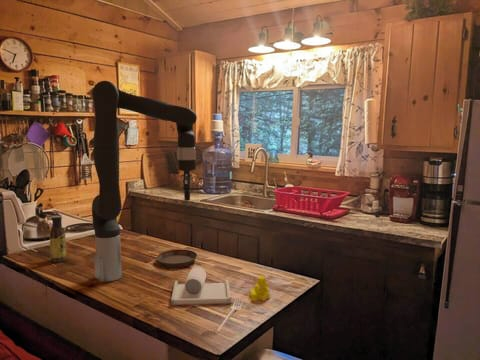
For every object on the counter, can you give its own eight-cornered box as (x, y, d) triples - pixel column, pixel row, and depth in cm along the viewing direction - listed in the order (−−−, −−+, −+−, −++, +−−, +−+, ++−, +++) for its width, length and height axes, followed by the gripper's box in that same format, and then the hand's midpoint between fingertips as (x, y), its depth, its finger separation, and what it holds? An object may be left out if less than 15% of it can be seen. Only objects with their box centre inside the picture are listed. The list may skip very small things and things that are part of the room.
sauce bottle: (64, 262, 168) (61, 218, 165) (48, 263, 167) (46, 218, 164) (68, 257, 174) (66, 214, 171) (53, 258, 173) (51, 215, 170)
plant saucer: (167, 272, 158) (167, 265, 157) (150, 260, 172) (150, 253, 171) (204, 264, 168) (204, 257, 167) (185, 253, 182) (185, 246, 182)
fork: (212, 333, 113) (212, 327, 112) (235, 302, 131) (235, 297, 131) (222, 335, 112) (222, 329, 111) (244, 304, 130) (244, 298, 130)
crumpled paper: (246, 298, 134) (246, 277, 133) (259, 291, 140) (260, 270, 139) (259, 303, 130) (259, 281, 129) (273, 295, 137) (273, 274, 136)
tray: (175, 285, 144) (175, 280, 144) (228, 283, 146) (228, 279, 146) (171, 305, 128) (170, 300, 128) (230, 303, 130) (230, 298, 130)
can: (204, 284, 147) (200, 297, 135) (187, 280, 147) (182, 293, 135) (208, 268, 146) (204, 280, 134) (191, 264, 146) (186, 275, 134)
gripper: (195, 159, 150) (195, 203, 153) (196, 157, 163) (196, 197, 166) (176, 159, 150) (176, 203, 152) (178, 157, 163) (179, 197, 165)
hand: (187, 200), depth 159 cm, fingers closed
